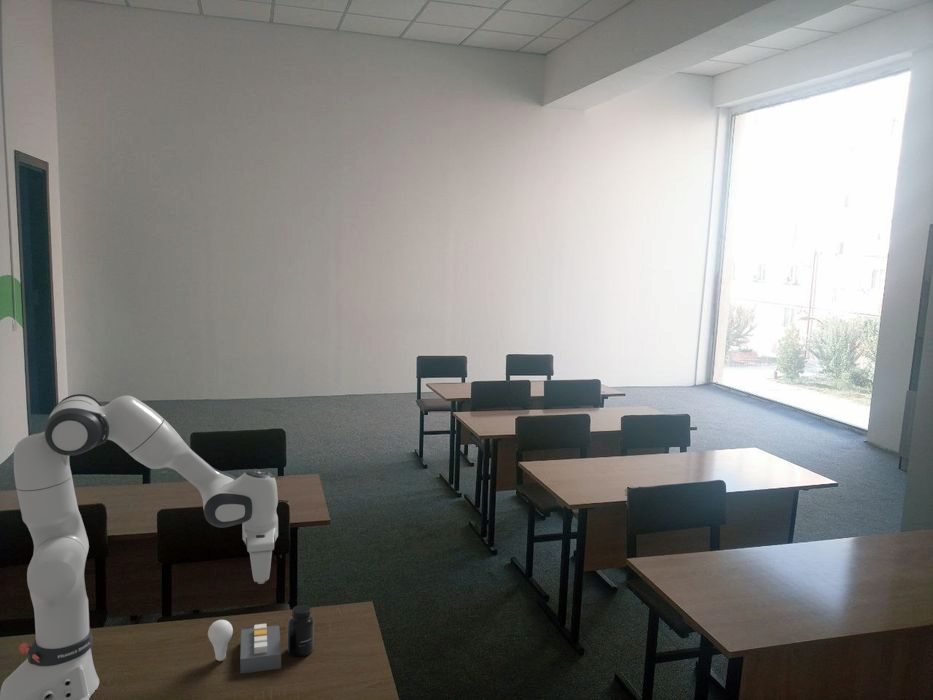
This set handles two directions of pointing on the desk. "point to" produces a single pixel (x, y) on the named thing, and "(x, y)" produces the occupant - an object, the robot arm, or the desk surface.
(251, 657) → the breaker strip
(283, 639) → the desk surface
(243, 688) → the desk surface
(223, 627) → the lightbulb
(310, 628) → the supplement bottle
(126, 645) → the desk surface
